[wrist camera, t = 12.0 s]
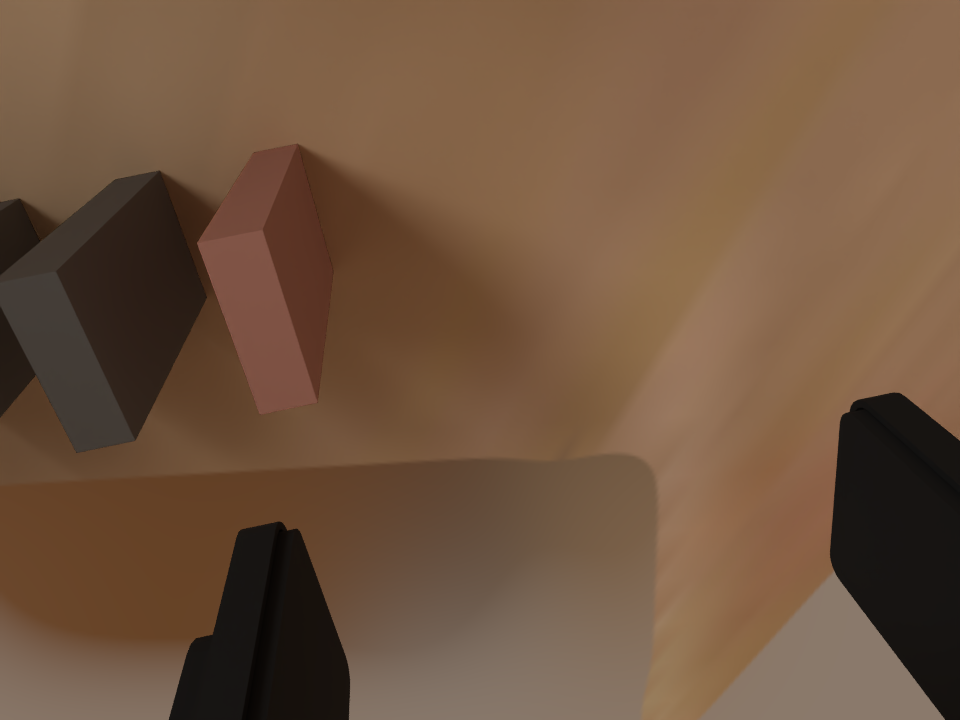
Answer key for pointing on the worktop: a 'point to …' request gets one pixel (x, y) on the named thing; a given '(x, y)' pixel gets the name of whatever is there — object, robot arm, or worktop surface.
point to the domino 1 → (3, 364)
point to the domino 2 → (106, 309)
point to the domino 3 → (272, 278)
